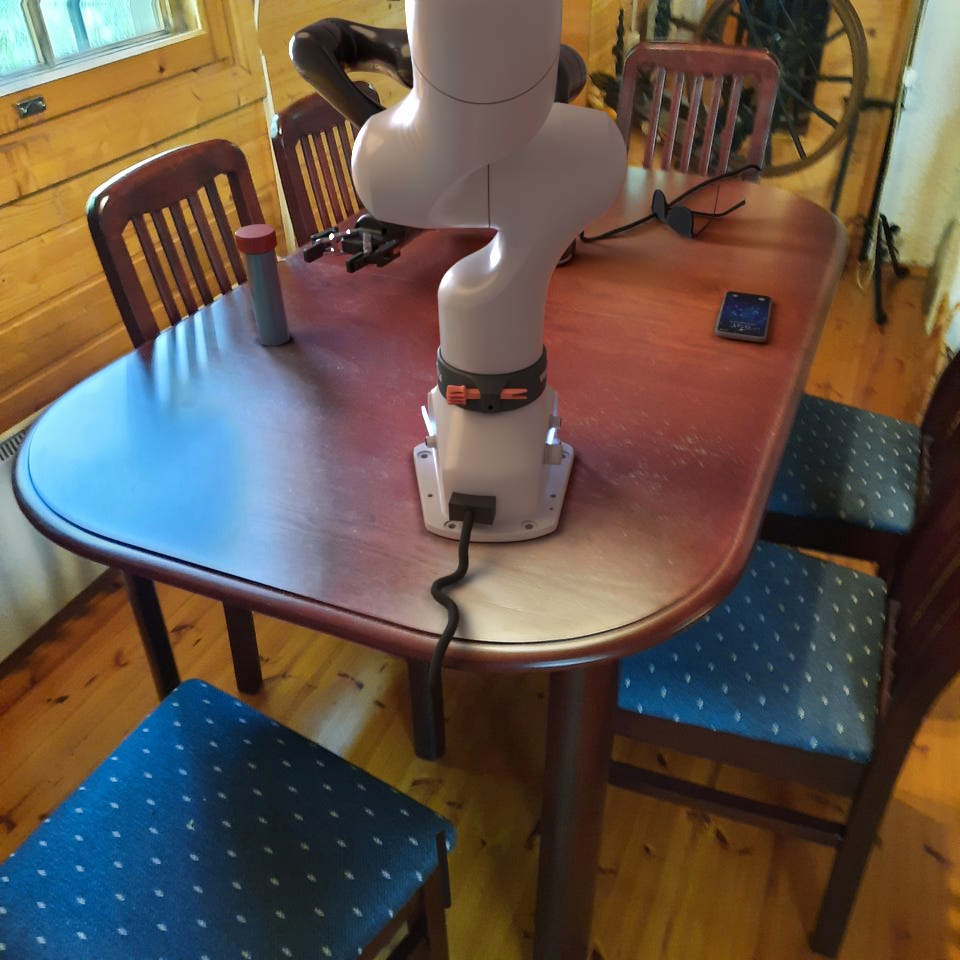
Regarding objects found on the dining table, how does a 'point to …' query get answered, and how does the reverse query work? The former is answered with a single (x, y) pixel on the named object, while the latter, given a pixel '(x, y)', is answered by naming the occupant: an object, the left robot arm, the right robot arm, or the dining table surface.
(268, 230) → the lid
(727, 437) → the dining table surface
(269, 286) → the bottle
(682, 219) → the sunglasses
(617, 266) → the dining table surface
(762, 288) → the dining table surface
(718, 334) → the smartphone
